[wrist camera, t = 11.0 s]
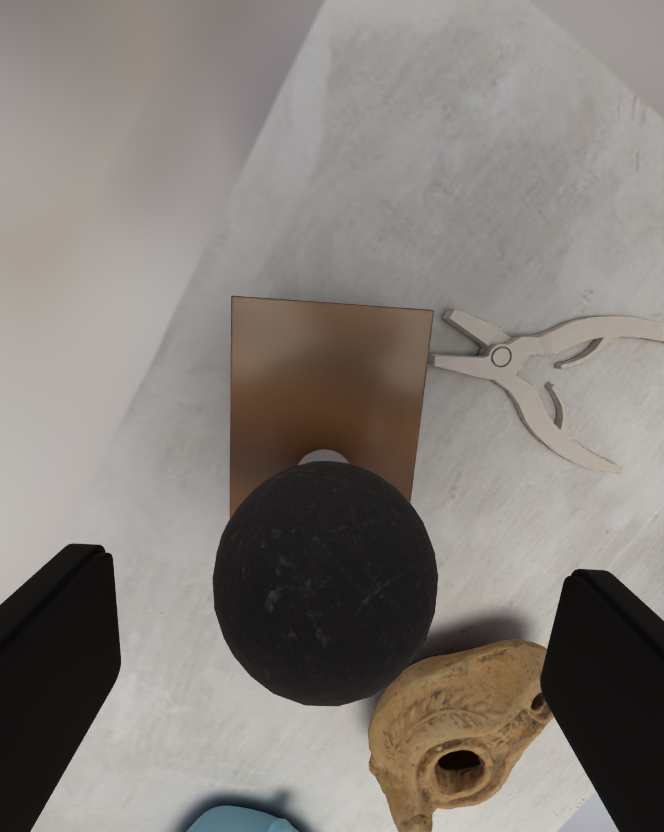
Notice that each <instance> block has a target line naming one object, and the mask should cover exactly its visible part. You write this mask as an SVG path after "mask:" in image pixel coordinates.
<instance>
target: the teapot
mask: <svg viewBox="0 0 664 832" xmlns="http://www.w3.org/2000/svg"><path fill="white" fill-rule="evenodd" d="M187 832H299V831H298V830H297V829H295V828H294V827H292V826H291V824H290V823H289V822H288V821H287V820H286V819H279V818H277V817H275V816H272V815H270V814H267V813H264V812H260V811H257V810H253V809H248V808H243V807H237V806H219V807H215V808H212V809H210V810H208V811H206V812H205V813H204V814H203V815H201V816H200V817H199V818H198V819H197V820H196V821H195V822H194V824H193V825H192V826H191V827H190V828H189V829H188V830H187Z"/></svg>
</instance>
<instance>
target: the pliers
mask: <svg viewBox="0 0 664 832" xmlns="http://www.w3.org/2000/svg"><path fill="white" fill-rule="evenodd" d="M442 319H444V320H445V321H447V322H448V323H449V324H451V325H452V326H454V327H455V328H457V329H458V330H459V331H461V332H462V333H464V334H465V335H467V336H468V337H469V338H471V339H472V340H474V341H475V342H476V343H478V344H479V346H480V347H481V349H480V351H479V355H477V356H471V355H451V354H432V353H429V354H428V362H427V363H429V364H431V365H434V366H437V367H441V368H445V369H449V370H453V371H456V372H460V373H464V374H468V375H471V376H475V377H479V378H483V379H490V380H492V381H494V382H495V383H497V384H498V385H500V386H501V387H503V388H504V389H505V391H506V392H507V393H508V395H509V396H510V397H511V399H512V400H513V401H514V404H515V406H516V409H517V411H518V413H519V416H520V418H521V420H522V421H523V423H524V424H525V425H526V427H527V428H528V429H529V431H530V432H531V433H532V434H533V435H534V436H535V437H536V438H537V439H538V440H539V441H541V442H542V443H543V444H545V445H546V446H547V447H548V448H550V449H551V450H553V451H554V452H556V453H558V454H559V455H561V456H562V457H564V458H566V459H568V460H570V461H572V462H574V463H576V464H579V465H581V466H584V467H587V468H590V469H593V470H598V471H602V472H608V473H615V474H619V473H620V471H621V469H622V467H620V466H618V465H616V464H614V463H611V462H609V461H607V460H604V459H602V458H600V457H598V456H596V455H595V454H593V453H591V452H589V451H587V450H586V449H584V448H583V447H581V446H580V445H578V444H577V443H576V442H574V441H573V440H572V439H570V436H569V432H568V424H569V415H568V410H567V405H566V403H565V401H564V399H563V397H562V395H561V393H560V392H559V391H558V389H557V388H556V386H555V385H554V384H550V383H547V384H546V385H545V386H546V388H547V389H548V391H549V392H550V394H551V396H552V398H553V400H554V402H555V404H556V411H557V418H556V422H555V424H554V423H553V421H552V420H551V418H550V416H549V414H548V412H547V410H546V408H545V406H544V404H543V402H542V399H541V397H540V395H539V393H538V390H537V389H536V388H534V387H533V386H531V385H530V384H529V383H527V382H526V381H524V380H523V379H521V378H520V377H519V376H517V375H516V373H517V372H518V371H519V370H520V368H521V367H522V366H523V365H524V363H525V362H526V361H527V360H528V358H529V357H530V356H531V355H545V356H546V355H554V354H556V353H558V352H561V351H563V350H565V349H567V348H570V347H572V346H574V345H577V344H580V343H582V342H585V341H587V340H590V339H595V340H594V341H593V342H592V344H591V345H590V347H589V348H588V349H587V350H585V351H584V352H583V353H581V354H580V355H578V356H577V357H574V358H572V359H570V360H567V361H564V362H560V363H556V364H555V368H559V369H564V368H568V367H572V366H575V365H578V364H581V363H583V362H586V361H588V360H589V359H591V358H592V357H594V356H595V355H597V354H598V353H600V352H601V351H602V350H603V349H604V348H605V347H606V346H607V345H608V344H609V343H610V342H611V341H613V340H614V339H616V338H618V337H636V338H642V339H648V340H653V341H658V342H663V343H664V325H662V324H659V323H656V322H653V321H650V320H645V319H640V318H636V317H624V316H595V317H586V318H579V319H575V320H571V321H567V322H564V323H562V324H560V325H558V326H556V327H554V328H551V329H549V330H547V331H545V332H542V333H538V334H534V335H530V336H526V337H522V336H516V337H514V338H513V339H512V338H511V337H509V336H508V335H506V334H505V333H504V332H502V331H501V330H499V329H500V327H497V326H495V325H493V324H490V323H488V322H485V321H483V320H481V319H478V318H476V317H474V316H471V315H469V314H466V313H464V312H462V311H459V310H457V309H448V310H447V311H446V312H445V314H444V315H443V317H442Z"/></svg>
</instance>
